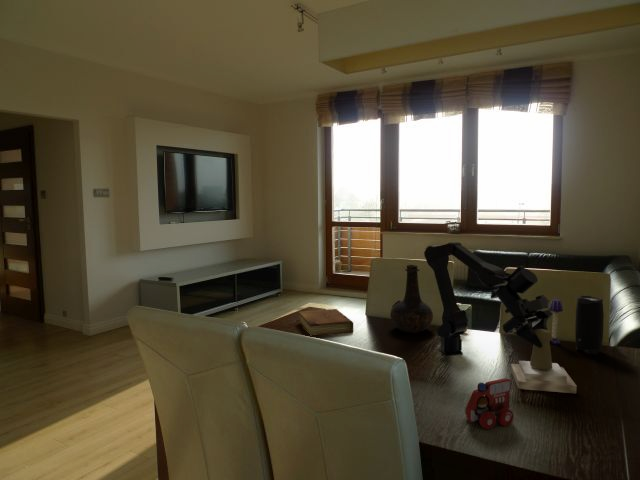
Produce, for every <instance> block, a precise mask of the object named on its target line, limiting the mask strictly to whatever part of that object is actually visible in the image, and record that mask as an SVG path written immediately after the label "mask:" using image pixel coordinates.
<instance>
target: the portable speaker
mask: <svg viewBox="0 0 640 480" xmlns="http://www.w3.org/2000/svg"><path fill="white" fill-rule="evenodd" d="M604 313H605V312H604V300H603V298H602V297H595V296H591V295H579V296H578V297H577V300H576V307H575V321H574V322H575V325H574V326H575V327H574V329H575V330H574V331H575V336H574V337H575V350H576V351H579V350H580V351H582V352H584V353H585V354H587V355H598V354H599V353H600V352H601V351H602V349H603V348H602V346H603V340H604V339H603V338H604V323H605V322H604V317H605V314H604Z"/></svg>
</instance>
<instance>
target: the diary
mask: <svg viewBox="0 0 640 480" xmlns="http://www.w3.org/2000/svg"><path fill="white" fill-rule="evenodd" d="M298 314H299V317H300V321H298V323H299V324H301V325H302V326H303V327H302V326H301V325H300V326H301V327H302V328H303V330H304V331H305V330H308V332H309V333H310V334H311V335H314V334H316V335H321V336H329V335H328V334H333V335H341V334H342V335H344V334H353V333H354V322H353V321H352V320H351V319H350V318H349V317H347V316H346V315H345V314H343V313H342V312H341V311H340V310H338V308H330V309H320V310H319V309H318V310H306V311H303V310H302V311H298ZM343 333H344V334H343Z"/></svg>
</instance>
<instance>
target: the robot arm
mask: <svg viewBox="0 0 640 480" xmlns="http://www.w3.org/2000/svg"><path fill="white" fill-rule="evenodd" d="M423 254H424V255H423V256H424V259H425V261H426V263H427V265H428V266H429V267H430V268H431V269H432V270H433V273H434V277H435V281H436V284H437V289H438V292H439V297H440V300H441V304H442V308H443V311H442V315H441V316H442V317H441V321H442V324H441V325H440V326H439V327H438V328H437V329H436V333H437V336H438V337H440V347H438V350H439V351H440V352H441V353H443V354H444V355H445V356H448V355H450V356H451V355H462V354H463V351H462V350H463V347H462V345H463V343H462V341H463V340H462V338H461V335H464V331H465V329H466V328H467V329H468V325H469V324H468V321H469V319H468V317H467V312H466V310H465V309H461V308H460V307H458V303H457V302H458V301H457V300H456V299H457V298H456V296H455V291H454V288H453V284H452V281H451V276H450V273H449V270H448V265H449V261H450V257H449V256H453V257H454V258H455V259H457V260H458V261H460V262H461V263H462V264H464V265H465V266H466V267H468V268H469V269H471V271H473V272H474V273H475V274H476V276H477V278H478V280H480V282H481V283H482V284H483V286H485V287H487V288H494V287H498V288H496V289H492V290H491V294H490V299H491V300H493V299H497V298H498V300H500V302H501V303H502V304H503V307H504V308H505V310H504V312H505V313H506V314H510V316H511V318H510V319H509V320H507V321H506V322H505V323H503V324H502V331H503V332H504V333H505V335H506V336H507V335H509V334H510V335H511V334H512V333H513V330H515V332H514V333H513V335H514V336H518V337H520V338H522V339H523V340H525V341H527V342H529V343H531V344H532V345H535V346H537V347H539V348H541V347H542V344H541V342H540V340H539V339H538V337H537V336H536V334H535V332H534V330H536V329H545V330H548V327H547V325H548V324H547V323H548V321H549V319H550V318H551V317H553V312H552V311H551V310H549V302H550V300H549V299H548V298H547V297H546V296H545V295H544V294H540V295H538V296H536V297H535V299H533V300H530V301H529V299H527V298H523V297H522V296H521V295H520V294H525V293H526V292H527V291H528V290H530V288H532V287H533V286H534V285H535V284H537V283H538V277H537V274H535V273H534V272H533V271H532V270H530V269H528V268H525V266H524V265H519V266H517V267H516V269H515V270H514V271H512V272H511V273H509V272H507V271H506V270H505V269H504V268H502V267H499V266H497V265H495V264H493V263H492V264H491V263H488V262H486V261H484V260H483V259H481V257H479V256H477V255H476V254H475V253H473V252H472V251H471V250H469V249H468V248H466V247H465V246H463V243H461V242H459V241H451V242H448V243H445V244H440V245H439V244H436V245H429V246H427V247H426V248H425V249H424V252H423ZM548 331H549V330H548ZM550 345H553V344H552V340H551V341H550Z"/></svg>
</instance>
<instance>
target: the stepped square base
mask: <svg viewBox="0 0 640 480" xmlns="http://www.w3.org/2000/svg"><path fill="white" fill-rule="evenodd" d="M530 362H531V360H530V361H529V360H518V363H511V364H510V371H511V374H512V376H513V379H514V381H515V384H516V387H517V389H518V390H527V391H529V390H530V391H542V392H543V391H544V392H552V393H553V392H554V393H555V392H557V393H567V394H577V384H576V383H575V382H574V380H573V379H572V378H571V376H570V375H569V374H568V373H567V371H566V370H565V368H564V367H562V366H560V365H559V364H558V363H557V362H552V369H547V370H546V369H537V368H534V367H532V366H531V365H530Z"/></svg>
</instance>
